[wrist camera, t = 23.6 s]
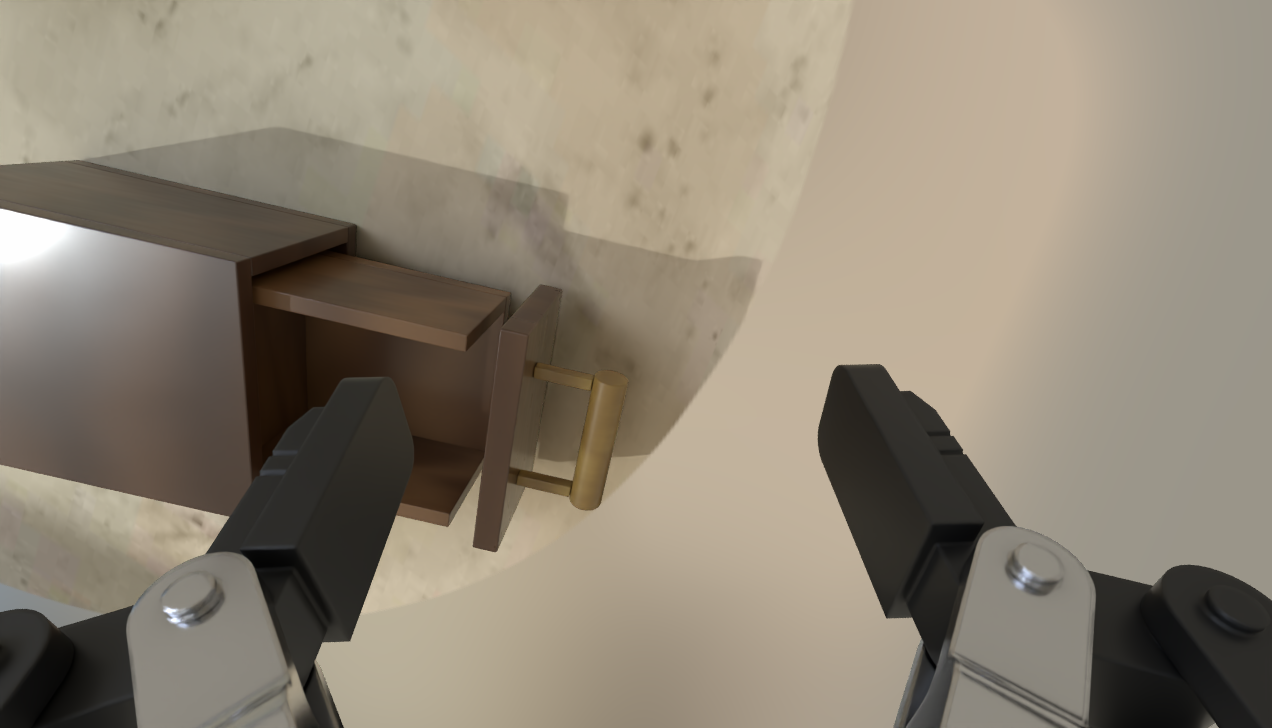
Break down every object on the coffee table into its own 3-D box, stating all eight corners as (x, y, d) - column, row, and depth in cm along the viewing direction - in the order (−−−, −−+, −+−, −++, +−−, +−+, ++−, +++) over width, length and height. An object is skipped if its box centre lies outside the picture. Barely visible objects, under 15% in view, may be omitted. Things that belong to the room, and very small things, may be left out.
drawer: (645, 308, 29) (633, 359, 23) (603, 489, 34) (584, 573, 27) (302, 228, 29) (196, 258, 23) (306, 421, 34) (219, 490, 27)
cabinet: (356, 224, 30) (236, 262, 22) (353, 431, 35) (254, 522, 27) (78, 159, 30) (-144, 174, 22) (115, 376, 35) (-54, 452, 27)
